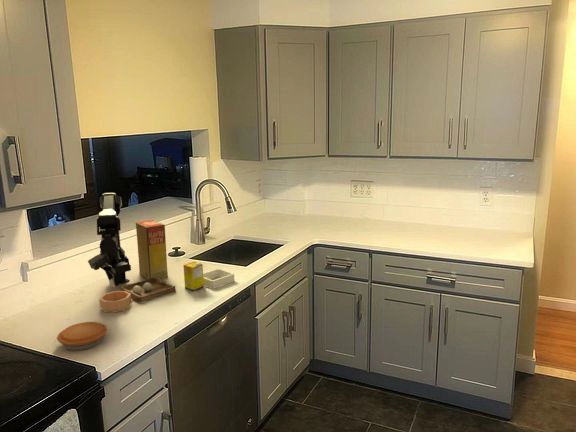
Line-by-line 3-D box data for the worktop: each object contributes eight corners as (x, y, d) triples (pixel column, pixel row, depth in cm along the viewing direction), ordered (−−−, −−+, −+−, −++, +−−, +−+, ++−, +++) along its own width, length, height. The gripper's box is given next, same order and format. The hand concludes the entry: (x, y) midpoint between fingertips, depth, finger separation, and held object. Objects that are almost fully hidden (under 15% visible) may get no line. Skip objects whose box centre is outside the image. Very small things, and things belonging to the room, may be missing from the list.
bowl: (96, 307, 187) (95, 296, 186) (122, 299, 195) (121, 288, 194) (109, 315, 180) (108, 304, 179) (136, 306, 188) (135, 295, 187)
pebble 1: (108, 286, 186) (107, 278, 185) (116, 284, 188) (115, 275, 187) (112, 289, 183) (111, 280, 182) (121, 286, 186) (120, 277, 185)
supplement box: (195, 284, 210) (193, 261, 208) (204, 287, 206) (202, 263, 204) (184, 288, 206) (182, 264, 203) (193, 291, 202) (192, 267, 199)
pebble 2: (131, 294, 198) (130, 285, 198) (139, 291, 201) (138, 283, 200) (135, 296, 196) (135, 288, 195) (143, 293, 199) (142, 285, 198)
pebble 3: (141, 290, 202) (141, 282, 201) (149, 288, 204) (148, 280, 204) (146, 293, 199) (145, 284, 199) (153, 290, 202) (153, 282, 201)
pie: (112, 330, 168) (111, 317, 167) (102, 351, 153) (101, 337, 152) (66, 333, 165) (64, 320, 164) (51, 356, 150) (49, 341, 149)
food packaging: (169, 276, 220) (165, 224, 215) (149, 281, 215) (145, 227, 209) (157, 269, 231) (153, 219, 225) (138, 273, 225) (134, 222, 219)
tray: (120, 292, 202) (119, 287, 202) (154, 282, 214) (153, 277, 213) (141, 303, 191) (140, 297, 190) (175, 291, 202) (175, 286, 201)
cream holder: (196, 282, 212) (196, 275, 212) (219, 275, 221) (218, 268, 221) (212, 289, 205) (212, 281, 204) (235, 281, 213) (234, 273, 213)
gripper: (78, 246, 183) (83, 284, 186) (101, 256, 170) (105, 296, 174) (106, 240, 190) (110, 277, 194) (130, 249, 178) (133, 288, 181)
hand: (114, 284), depth 185 cm, fingers closed on pebble 1, 4 cm apart
